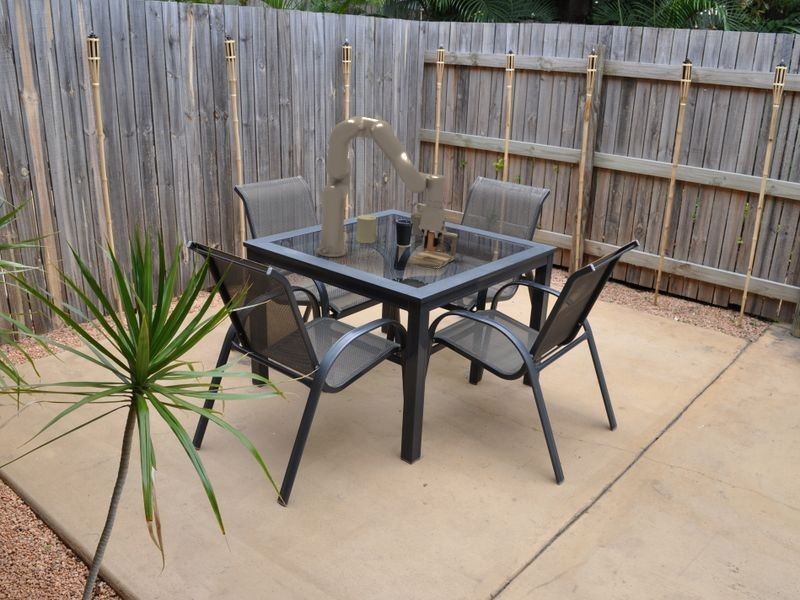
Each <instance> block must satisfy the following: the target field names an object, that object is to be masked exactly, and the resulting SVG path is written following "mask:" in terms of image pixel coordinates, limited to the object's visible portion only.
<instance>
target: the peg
mask: <svg viewBox="0 0 800 600" xmlns="http://www.w3.org/2000/svg"><path fill="white" fill-rule="evenodd" d="M434 238H435V232H428V244H427V251H431V252H433V251H435V247H433V242H434ZM435 252H436V251H435Z"/></svg>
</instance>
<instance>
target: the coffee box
mask: <svg viewBox="0 0 800 600" xmlns="http://www.w3.org/2000/svg"><path fill="white" fill-rule="evenodd" d="M445 220H446V217H445ZM441 231H442V230H441ZM444 238H445V236H440V237H439V244H438V246H436V247H435V252H438V251H437V250H440V251H439V252H441V250H442V251H443V247H444V246H443V245H444ZM421 241H422V242H421V249H422V252H424V251H426V250H427V245H425V242H424V241H425V236H424V234H423V237H422V240H421Z"/></svg>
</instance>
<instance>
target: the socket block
mask: <svg viewBox="0 0 800 600" xmlns="http://www.w3.org/2000/svg"><path fill="white" fill-rule="evenodd" d="M430 232H435V231H430ZM440 232H442V231H440ZM441 236H444V237H447V238H451V246H450V254H448V253H444V252H440V251H433V252H431V251H427V250H426V251H422V252H420V253H418V254H415V255H413V256H411V257H409V258H408V264H413V265H418V266H421V265H422V266H423V267H426V266H429V267H428V268H430V267H437V268H438V267H440V266H442V265H444V264H446V263H448V262H450V261H451V260H453V259H455V260H456V252H457V251H456V250H457V241H458V234H457V233H454V232H448V231H447V233H445V234H442V235H441ZM422 266H421V267H422Z"/></svg>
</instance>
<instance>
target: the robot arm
mask: <svg viewBox="0 0 800 600" xmlns="http://www.w3.org/2000/svg"><path fill="white" fill-rule="evenodd" d="M360 137H361V138H365V139H371V140H372V141H373V142H374V143H375V145H376V146H377V147H378V148H379V149H380V151H381V152H382V154H383V155H384V157H385V158H386V160H388V162H389V163H390V164H391V166H392V168H393V169H394V171H395V172H396V174H397V175H398V177H399V178H400V179H401V182H402V183H403V184H404V185H405V186H406V187H407V189H408V190H409V191H410V192H411V193H414V194H421V193H422V192H423V191H424V190H426V194H425V195H426V196H425V199H422V201H423V203H424V206H423V207H422V210H421V213H422V215H421V221H420V225H419V226H418V228H419V229H420V230H421V231H422V232H423V234H424V236H425V241H424V242H425V245H427V244H428V232H430V231H435V238H434V242H433V247H436V246H438V244H439V237H440V236H441V235H442V234H445V233H447V232H448V230H447V228H446V219H445V218H446V211H445V207H444V200H445V187H446V177H445V176H444V175H443V174H437V173H436V174H435V173H432V174H431V173H430V174H429V173H426V172H421V171H418V170H417V168H416V167H415V165H414V164H413V163H412V161H411V160H410V156H409V154H408V151H407V149H406V147H405V146H404V145H403V143H402V142H401V141H400V139H399V138H398V137H397V136H396V134H395V133H394V132H393V128H392V125H391V124H390V123H389V122H387V121H386V120H382V119H375V118H370V117H365V116H358V115H355V116H351V117H349V118H346V119H345V120H342V121H341V122H339V123H337V124H336V125H335V126H333V128H332V130H331V133H330V135H329V142H328V149H327V150H328V151H327V159H326V165H325V169H326V171H325V172H326V174H327V176H328V179H327V184H326V185H325V186H324V187H323V190H322V193H321V208H322V209H321V235H320V236H321V237H320V238H321V239H320V245H319V247H317V248H315V252H316V253H317V254H318V255H320V256H321V257H322V256H323V257H328V258H329V257H330V258H338V257H339V258H340V257H344V256H345V255H346V253H347V252H346V249H343V248H344V247H343V245H344V225H345V219H344V218H345V198H346V197H347V195H348V194H349V189H350V181H351V180H350V179H351V172H352V171H351V170H352V164H351V161H350V159H349V157H348V156H349V149H350V142H351V141H352V140H355V139H357V138H360ZM441 230H442V232H440V231H441Z"/></svg>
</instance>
